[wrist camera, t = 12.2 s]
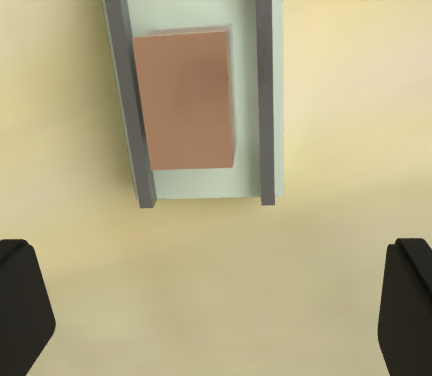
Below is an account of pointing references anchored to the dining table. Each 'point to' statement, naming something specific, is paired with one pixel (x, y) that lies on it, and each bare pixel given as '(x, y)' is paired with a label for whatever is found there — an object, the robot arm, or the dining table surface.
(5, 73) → the dining table surface
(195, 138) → the block
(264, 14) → the stand
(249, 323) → the dining table surface
